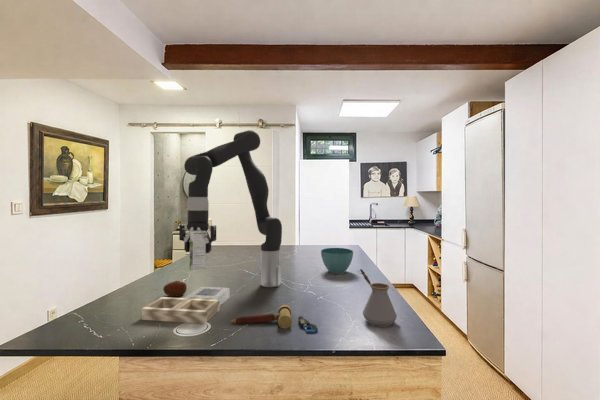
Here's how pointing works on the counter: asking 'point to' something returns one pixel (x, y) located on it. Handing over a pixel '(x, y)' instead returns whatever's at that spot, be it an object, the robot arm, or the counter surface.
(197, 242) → the syrup box
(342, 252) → the teal bowl
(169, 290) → the potato
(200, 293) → the socket block
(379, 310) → the coffee pot
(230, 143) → the robot arm
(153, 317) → the rack
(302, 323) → the micrometer
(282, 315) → the gavel
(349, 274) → the counter surface
